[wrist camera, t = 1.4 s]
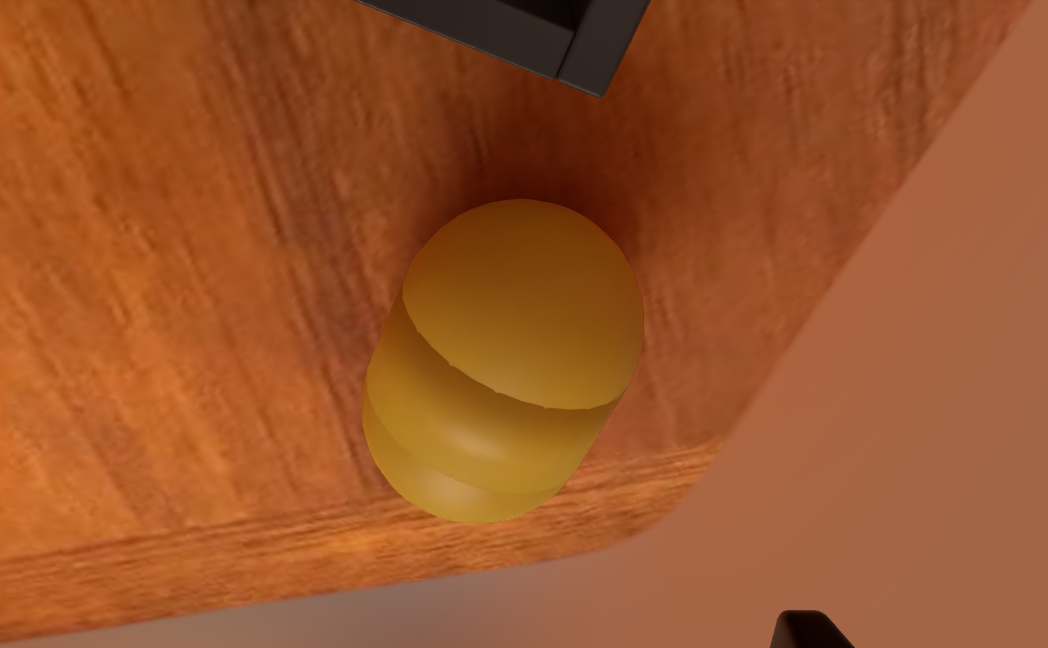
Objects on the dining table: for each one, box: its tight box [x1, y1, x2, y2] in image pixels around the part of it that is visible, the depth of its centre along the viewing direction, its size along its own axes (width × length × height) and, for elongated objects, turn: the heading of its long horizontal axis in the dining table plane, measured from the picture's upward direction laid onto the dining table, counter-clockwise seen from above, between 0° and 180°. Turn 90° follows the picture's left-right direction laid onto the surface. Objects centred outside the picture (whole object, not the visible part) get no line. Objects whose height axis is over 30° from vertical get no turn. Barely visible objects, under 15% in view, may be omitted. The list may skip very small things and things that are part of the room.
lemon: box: [362, 199, 644, 524], centre depth 21 cm, size 8×5×5 cm
